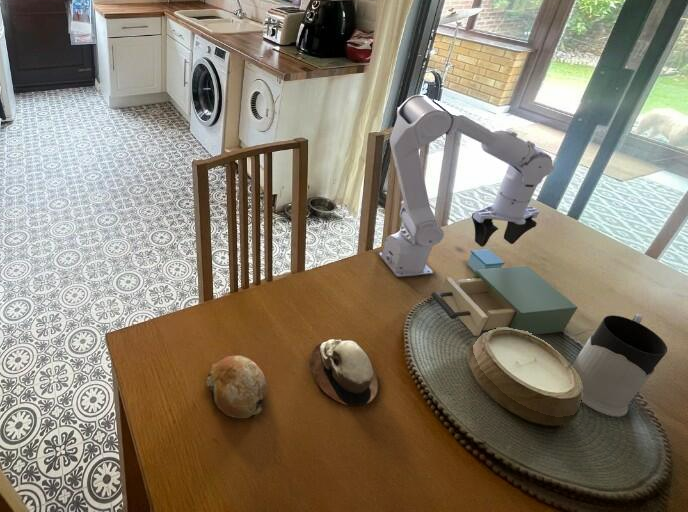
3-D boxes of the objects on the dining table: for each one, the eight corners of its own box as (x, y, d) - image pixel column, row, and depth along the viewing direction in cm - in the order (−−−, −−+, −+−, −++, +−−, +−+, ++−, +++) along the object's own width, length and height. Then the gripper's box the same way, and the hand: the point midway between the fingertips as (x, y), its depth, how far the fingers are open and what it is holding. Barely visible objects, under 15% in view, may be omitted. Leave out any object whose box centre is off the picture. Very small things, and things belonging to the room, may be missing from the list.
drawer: (454, 338, 83) (462, 319, 80) (420, 297, 92) (426, 279, 90) (525, 330, 84) (534, 312, 82) (485, 290, 94) (492, 273, 91)
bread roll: (239, 439, 70) (262, 426, 65) (193, 394, 72) (211, 378, 68) (260, 390, 78) (282, 375, 73) (218, 350, 80) (236, 333, 75)
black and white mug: (556, 385, 75) (592, 329, 68) (577, 344, 83) (611, 290, 76) (622, 427, 69) (668, 369, 62) (638, 378, 76) (681, 322, 70)
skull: (293, 348, 80) (330, 313, 79) (323, 364, 85) (358, 330, 83) (328, 409, 70) (371, 370, 68) (360, 423, 74) (401, 387, 72)
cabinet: (508, 337, 84) (521, 313, 81) (466, 293, 94) (476, 269, 91) (563, 331, 85) (578, 307, 82) (515, 288, 96) (526, 265, 93)
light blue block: (480, 278, 98) (486, 264, 97) (465, 263, 103) (471, 250, 101) (498, 276, 99) (504, 262, 97) (483, 262, 103) (488, 248, 101)
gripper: (499, 208, 87) (479, 256, 93) (560, 203, 88) (536, 251, 94) (474, 189, 93) (456, 236, 99) (531, 185, 95) (510, 231, 101)
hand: (493, 242), depth 97 cm, fingers open, 7 cm apart
